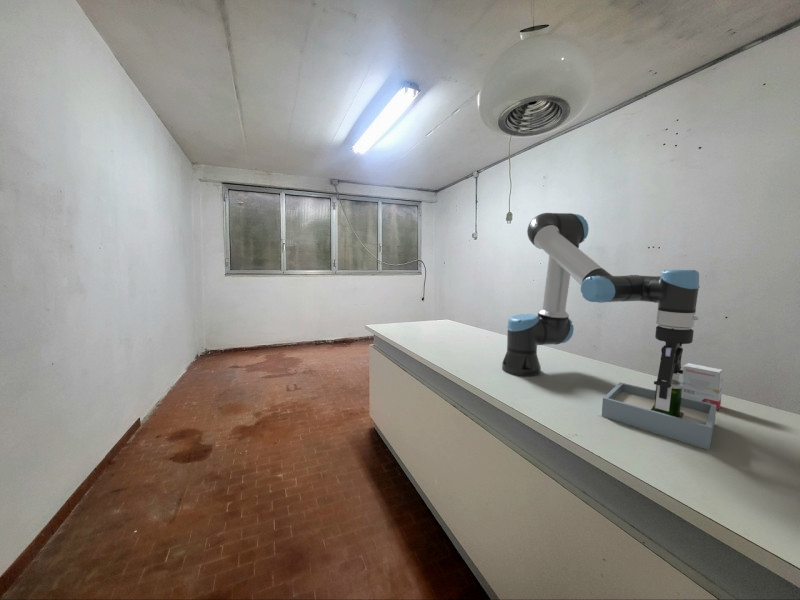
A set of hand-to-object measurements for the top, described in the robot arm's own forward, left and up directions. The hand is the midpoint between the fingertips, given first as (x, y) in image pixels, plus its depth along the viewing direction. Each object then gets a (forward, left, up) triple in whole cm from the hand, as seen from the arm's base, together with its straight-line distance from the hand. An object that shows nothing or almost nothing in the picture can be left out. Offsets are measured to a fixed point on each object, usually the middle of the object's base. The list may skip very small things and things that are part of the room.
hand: (666, 401), depth 83 cm
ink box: (+5, +24, -6) cm, 25 cm away
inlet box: (-2, 0, -6) cm, 6 cm away
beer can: (0, 0, -6) cm, 6 cm away
